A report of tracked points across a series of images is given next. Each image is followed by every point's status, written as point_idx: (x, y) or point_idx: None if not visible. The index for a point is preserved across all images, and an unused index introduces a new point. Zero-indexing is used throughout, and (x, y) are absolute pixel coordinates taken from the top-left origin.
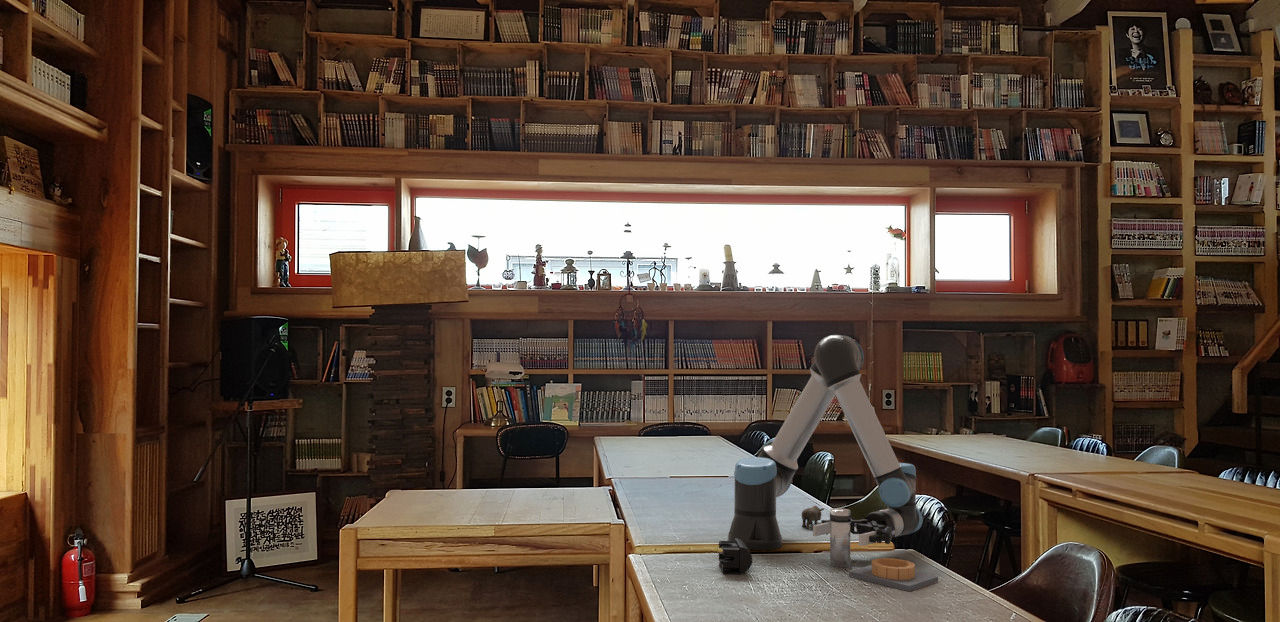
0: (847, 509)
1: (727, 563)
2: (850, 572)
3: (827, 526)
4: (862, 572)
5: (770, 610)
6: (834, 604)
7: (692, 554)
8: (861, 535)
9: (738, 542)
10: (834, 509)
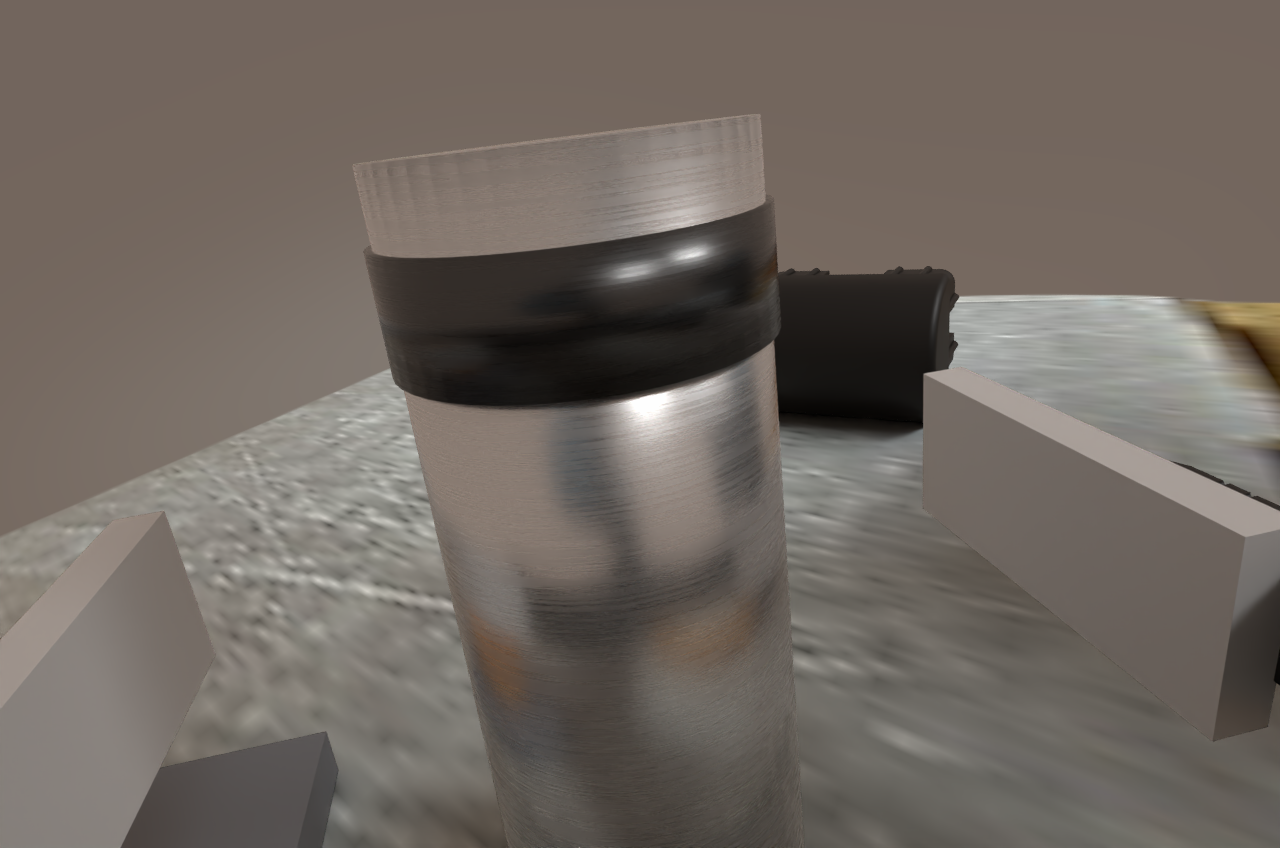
0: (521, 145)
1: None
2: (310, 744)
3: (1141, 548)
4: (184, 808)
5: (342, 392)
6: (170, 498)
7: (1200, 365)
8: (114, 525)
9: (830, 276)
10: (661, 125)
